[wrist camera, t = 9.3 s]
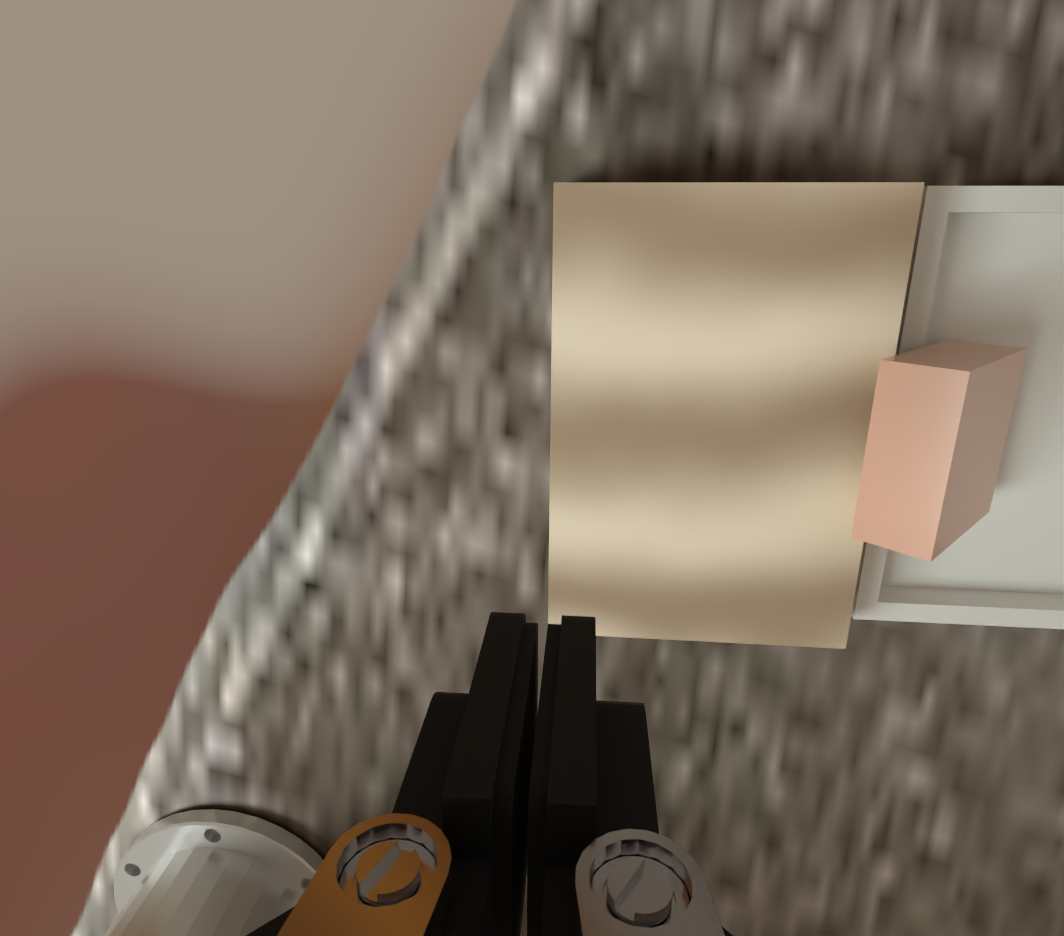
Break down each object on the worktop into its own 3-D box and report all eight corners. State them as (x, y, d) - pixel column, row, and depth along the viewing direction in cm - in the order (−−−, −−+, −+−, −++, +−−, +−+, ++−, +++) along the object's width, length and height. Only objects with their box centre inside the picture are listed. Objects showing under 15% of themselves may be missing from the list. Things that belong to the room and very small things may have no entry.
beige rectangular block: (814, 595, 30) (845, 648, 26) (554, 583, 31) (547, 633, 27) (875, 188, 25) (924, 181, 21) (560, 188, 26) (553, 182, 22)
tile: (917, 493, 28) (989, 511, 26) (850, 537, 24) (930, 561, 22) (946, 339, 26) (1027, 348, 24) (879, 359, 22) (969, 371, 20)
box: (1144, 610, 29) (1177, 634, 27) (839, 596, 30) (853, 618, 28) (1279, 188, 24) (1331, 185, 22) (905, 188, 25) (927, 185, 23)
